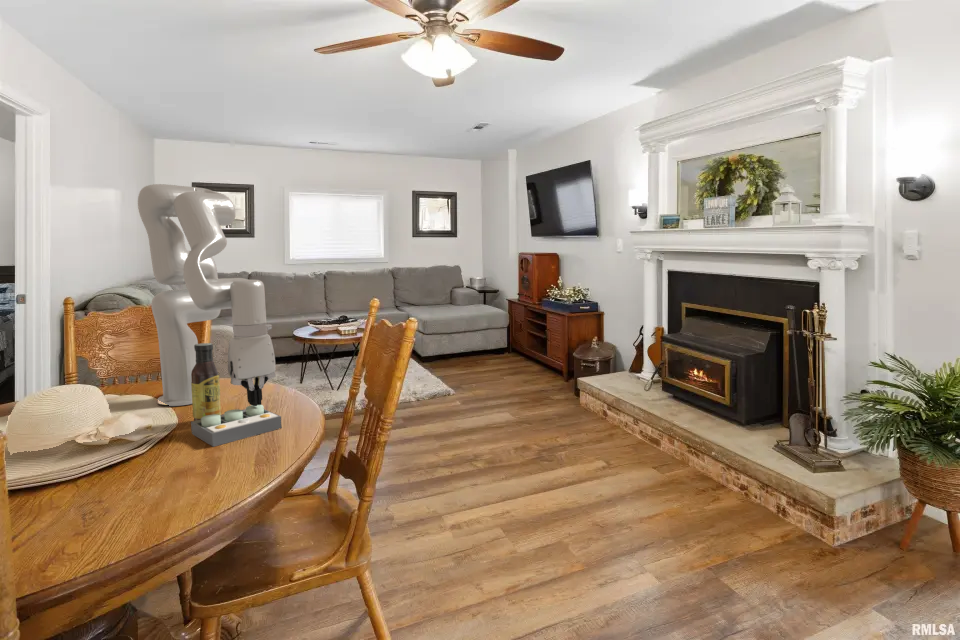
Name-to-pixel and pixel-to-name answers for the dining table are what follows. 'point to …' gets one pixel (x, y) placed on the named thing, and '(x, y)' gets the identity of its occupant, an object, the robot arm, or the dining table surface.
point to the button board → (236, 428)
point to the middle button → (233, 415)
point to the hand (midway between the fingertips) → (255, 404)
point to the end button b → (254, 410)
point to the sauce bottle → (205, 383)
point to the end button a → (210, 420)
